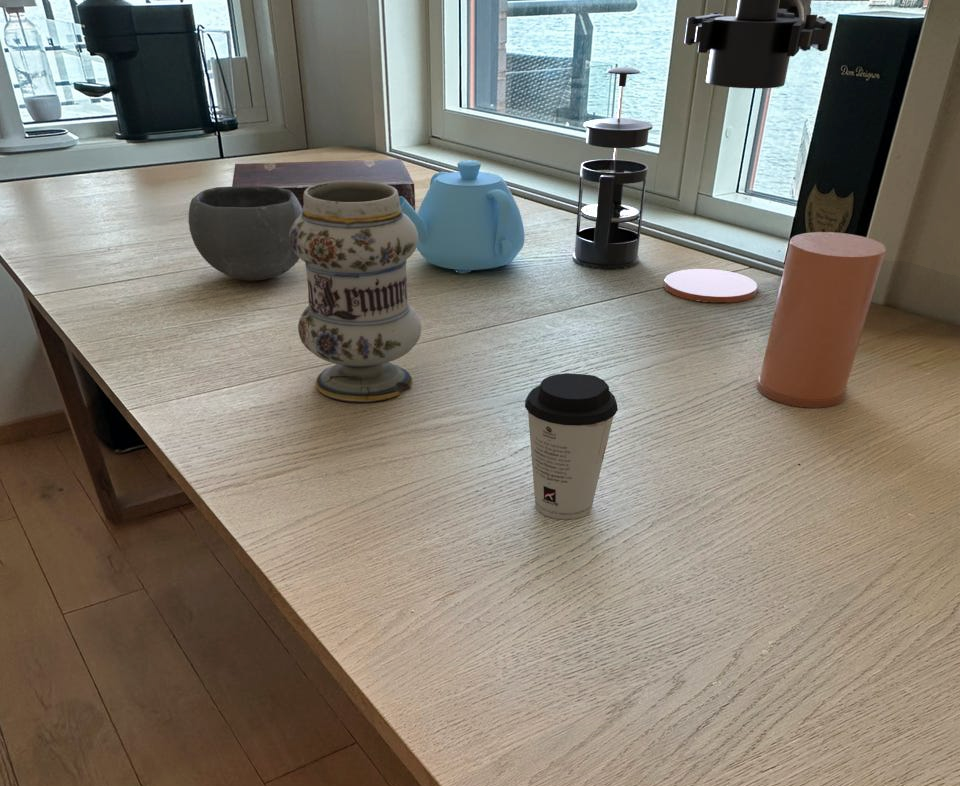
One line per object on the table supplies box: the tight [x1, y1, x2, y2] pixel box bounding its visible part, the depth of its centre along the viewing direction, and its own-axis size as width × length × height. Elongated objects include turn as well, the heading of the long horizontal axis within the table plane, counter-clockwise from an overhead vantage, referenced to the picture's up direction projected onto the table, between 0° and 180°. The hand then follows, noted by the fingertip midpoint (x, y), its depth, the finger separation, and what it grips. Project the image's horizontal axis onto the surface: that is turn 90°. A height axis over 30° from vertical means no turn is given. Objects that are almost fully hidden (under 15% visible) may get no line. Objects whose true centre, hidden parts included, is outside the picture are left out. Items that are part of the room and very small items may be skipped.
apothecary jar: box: [289, 180, 422, 403], centre depth 82 cm, size 12×12×18 cm
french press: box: [572, 66, 654, 270], centre depth 115 cm, size 12×9×23 cm
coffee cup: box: [524, 372, 619, 520], centre depth 66 cm, size 7×7×10 cm
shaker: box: [756, 231, 887, 409], centre depth 83 cm, size 9×9×14 cm
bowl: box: [188, 185, 302, 282], centre depth 112 cm, size 15×15×10 cm
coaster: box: [663, 268, 759, 304], centre depth 113 cm, size 12×12×1 cm
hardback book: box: [231, 158, 416, 211], centre depth 145 cm, size 29×19×5 cm, turn 101°
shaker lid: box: [705, 0, 797, 89], centre depth 96 cm, size 9×9×8 cm
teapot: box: [399, 160, 525, 274], centre depth 116 cm, size 20×20×13 cm
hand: (747, 39), depth 92 cm, fingers closed on shaker lid, 9 cm apart
